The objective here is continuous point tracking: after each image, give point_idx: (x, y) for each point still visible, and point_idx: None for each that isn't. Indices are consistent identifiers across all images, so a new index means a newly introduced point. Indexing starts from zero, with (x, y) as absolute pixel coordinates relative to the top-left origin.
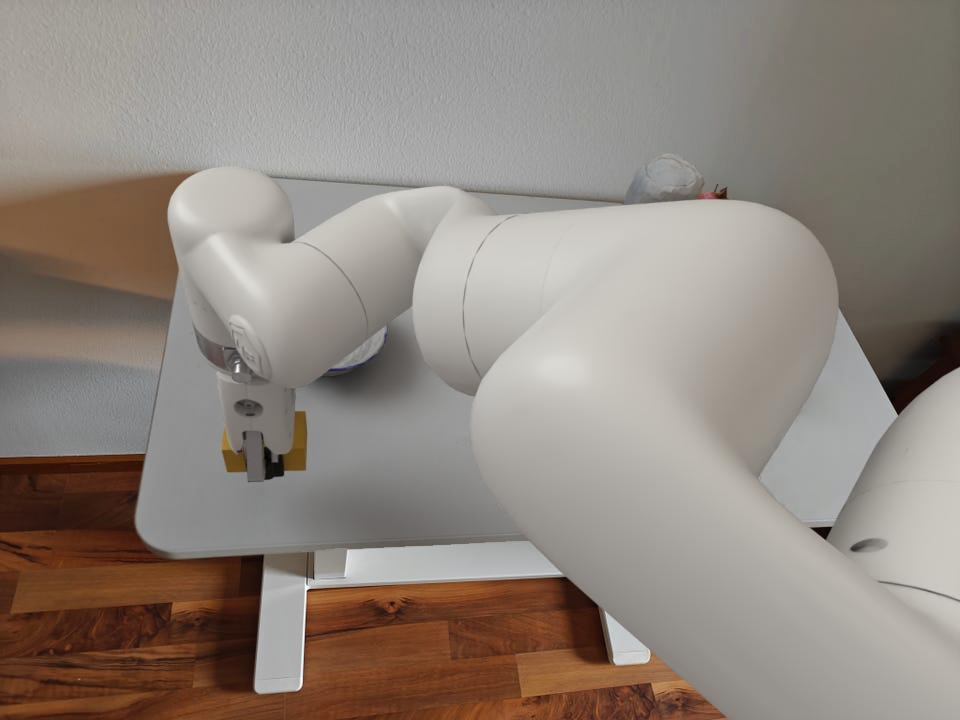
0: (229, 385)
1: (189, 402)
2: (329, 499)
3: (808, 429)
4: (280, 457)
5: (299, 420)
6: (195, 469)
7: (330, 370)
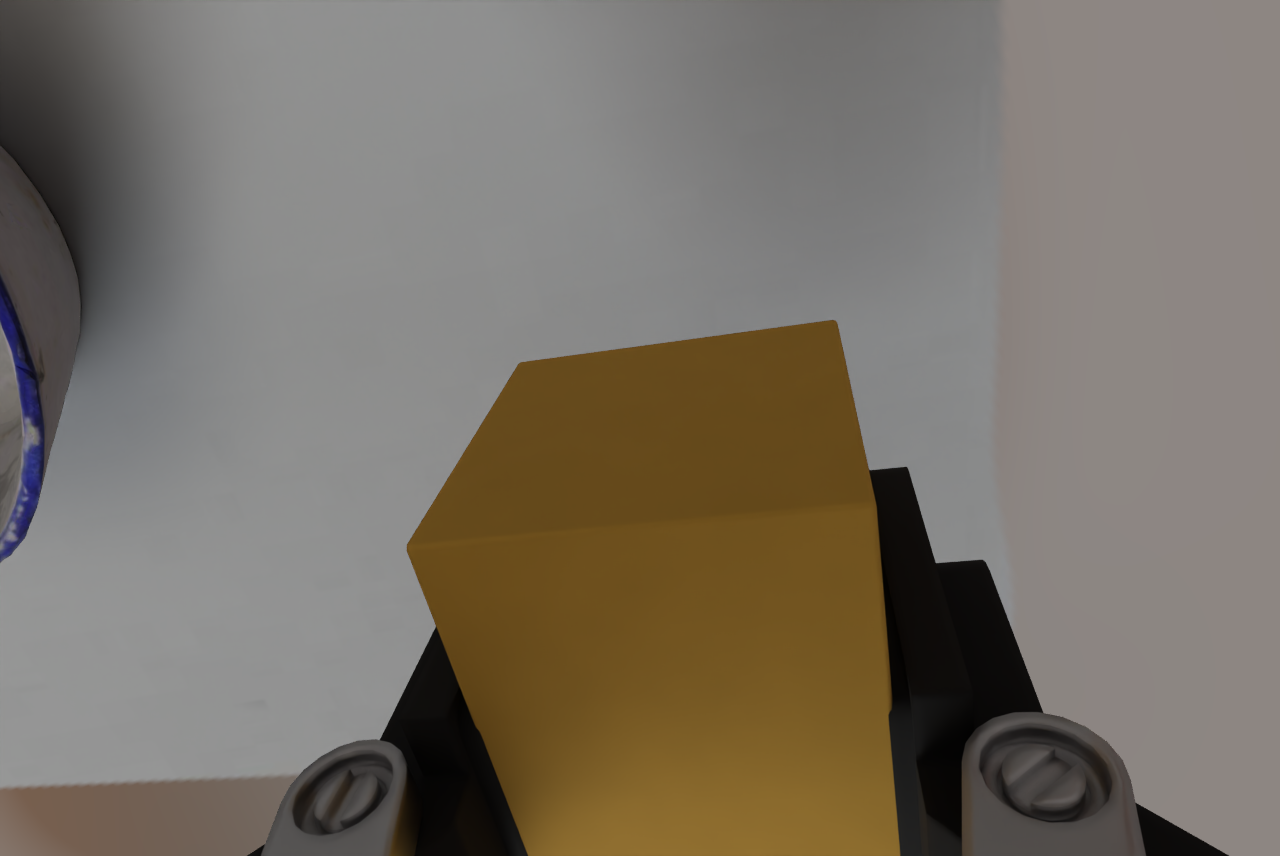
0: None
1: None
2: (755, 79)
3: None
4: (957, 659)
5: (532, 586)
6: None
7: None
